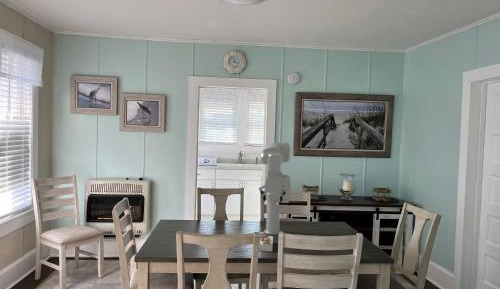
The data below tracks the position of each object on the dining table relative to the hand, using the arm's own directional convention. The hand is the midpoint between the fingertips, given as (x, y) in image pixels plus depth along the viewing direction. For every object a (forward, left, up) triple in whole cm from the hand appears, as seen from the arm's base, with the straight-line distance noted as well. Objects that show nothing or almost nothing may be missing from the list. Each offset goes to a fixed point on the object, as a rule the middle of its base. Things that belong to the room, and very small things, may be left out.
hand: (272, 202), depth 233 cm
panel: (-9, -4, -30) cm, 32 cm away
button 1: (-16, -6, -27) cm, 31 cm away
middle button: (-9, -4, -27) cm, 29 cm away
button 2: (-3, -3, -27) cm, 27 cm away
